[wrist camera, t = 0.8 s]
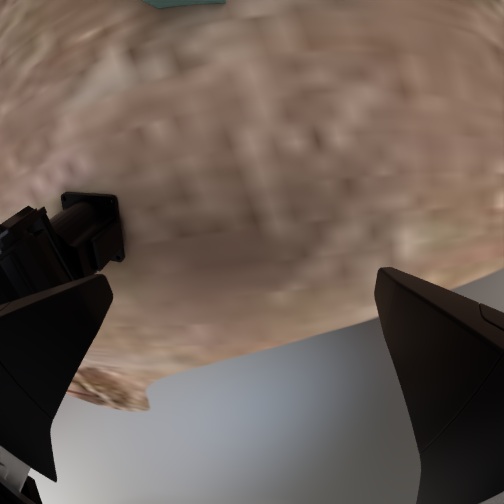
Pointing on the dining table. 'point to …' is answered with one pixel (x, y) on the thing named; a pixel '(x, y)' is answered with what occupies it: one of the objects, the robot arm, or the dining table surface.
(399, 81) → the dining table surface
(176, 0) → the teal block
